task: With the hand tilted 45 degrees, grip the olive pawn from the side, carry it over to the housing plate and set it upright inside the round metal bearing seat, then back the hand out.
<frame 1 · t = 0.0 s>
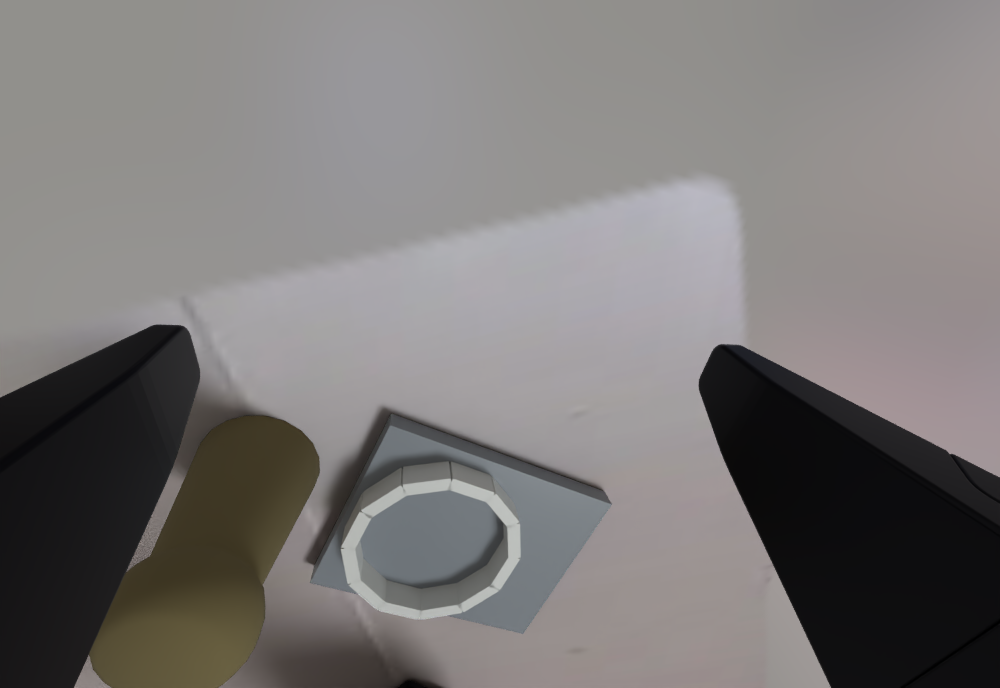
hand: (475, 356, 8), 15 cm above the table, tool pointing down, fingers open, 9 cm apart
housing: (463, 527, 29), on the table
olive pawn: (260, 463, 26), on the table
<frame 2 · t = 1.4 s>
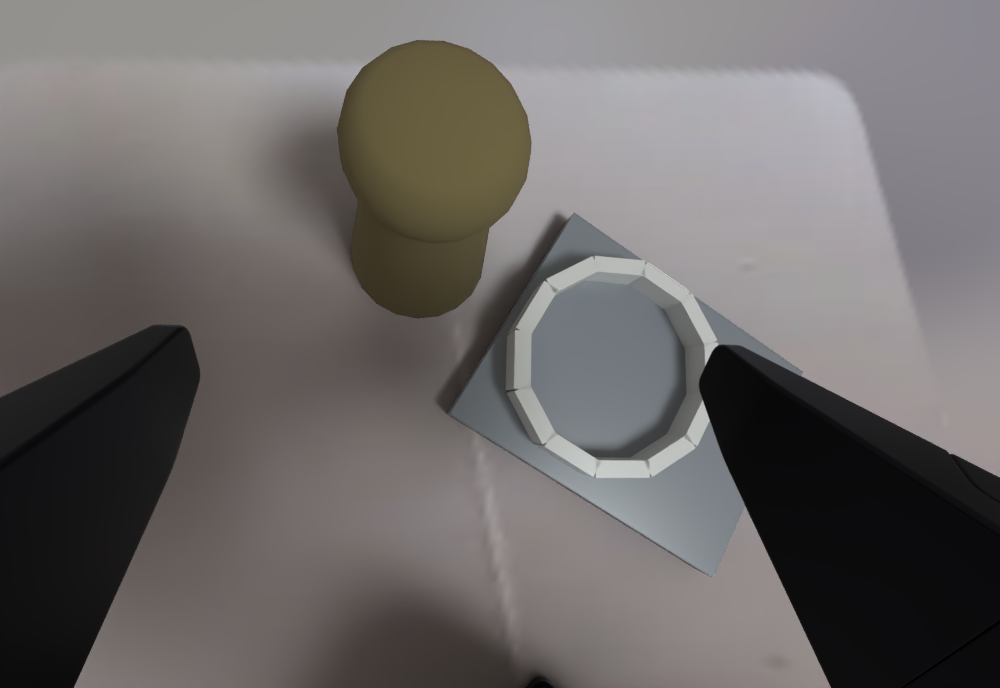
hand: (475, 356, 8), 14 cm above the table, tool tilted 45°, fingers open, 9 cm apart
housing: (629, 392, 24), on the table
olive pawn: (419, 254, 23), on the table
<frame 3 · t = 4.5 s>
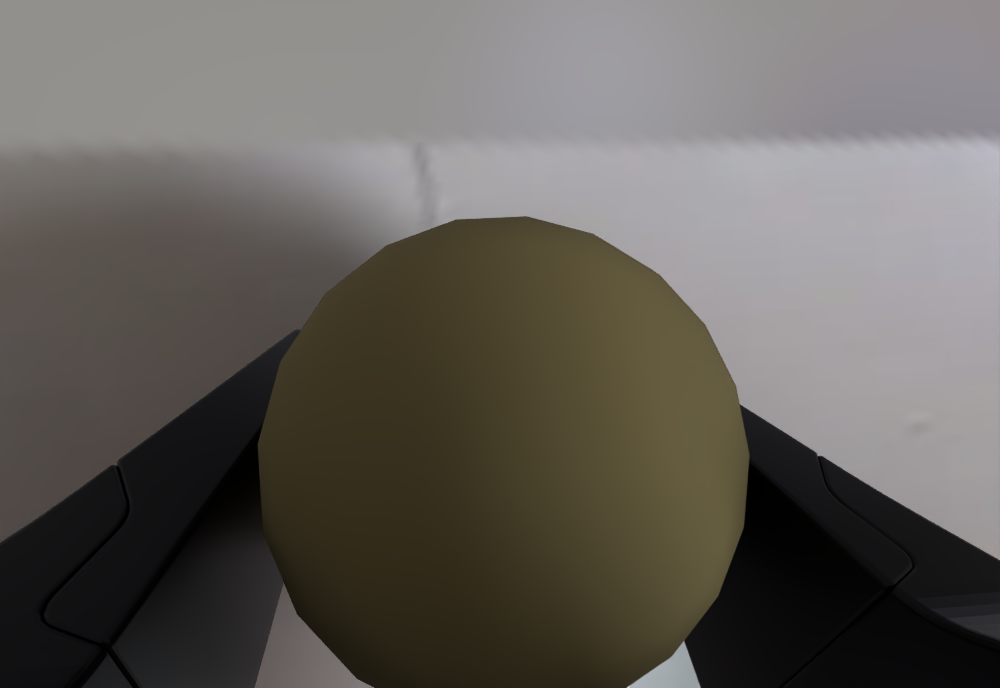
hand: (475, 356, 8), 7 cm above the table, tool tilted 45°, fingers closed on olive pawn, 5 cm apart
housing: (760, 639, 15), on the table
olive pawn: (443, 433, 15), on the table, touching gripper
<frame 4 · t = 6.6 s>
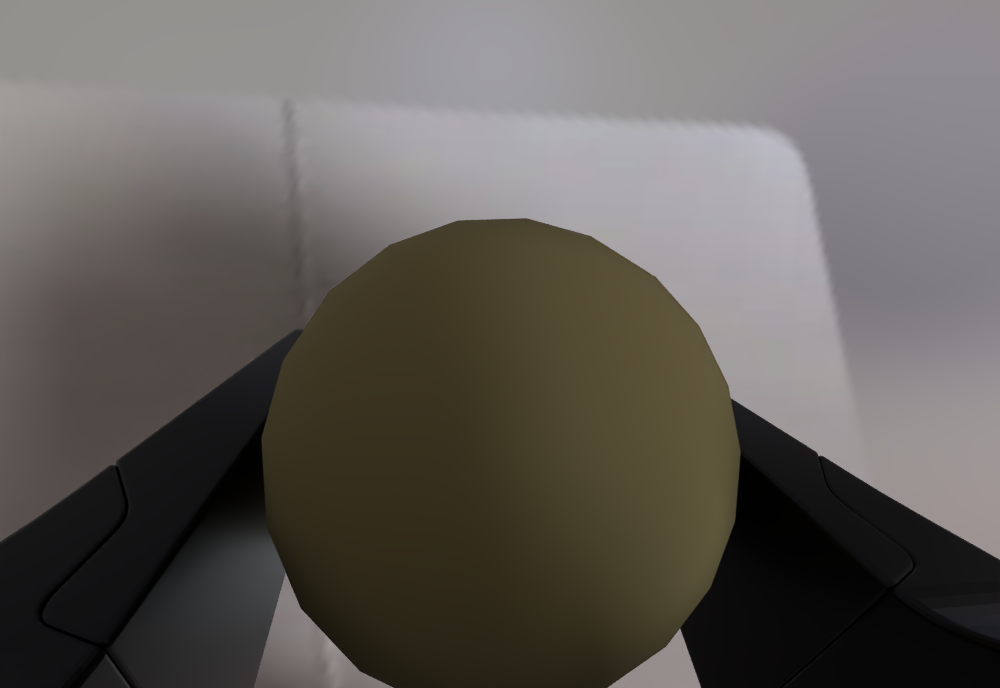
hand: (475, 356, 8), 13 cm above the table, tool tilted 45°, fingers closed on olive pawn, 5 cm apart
olive pawn: (434, 432, 15), point 6 cm above the table, touching gripper
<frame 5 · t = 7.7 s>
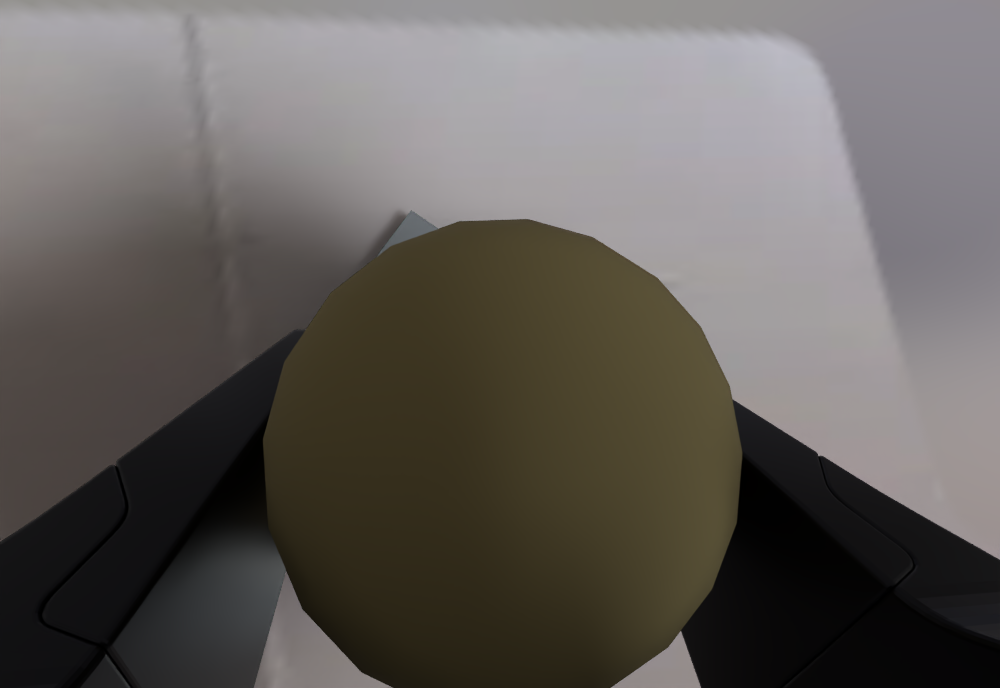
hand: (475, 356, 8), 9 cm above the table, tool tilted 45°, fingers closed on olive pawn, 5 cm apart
housing: (488, 455, 17), on the table
olive pawn: (434, 432, 15), point 2 cm above the table, touching gripper
when the fingers open (9 cm above the table, at t = 8.5 s): olive pawn drops 1 cm, resting on housing.
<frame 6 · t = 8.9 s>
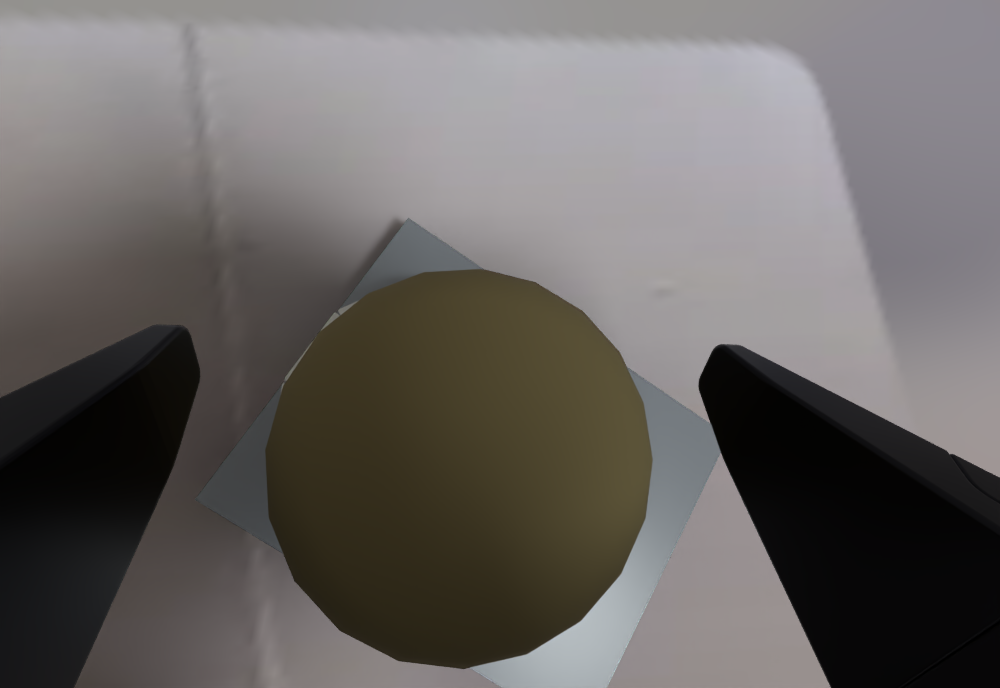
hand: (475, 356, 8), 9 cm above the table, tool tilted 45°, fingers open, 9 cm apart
housing: (485, 461, 17), on the table
olive pawn: (430, 436, 16), point 1 cm above the table, touching housing
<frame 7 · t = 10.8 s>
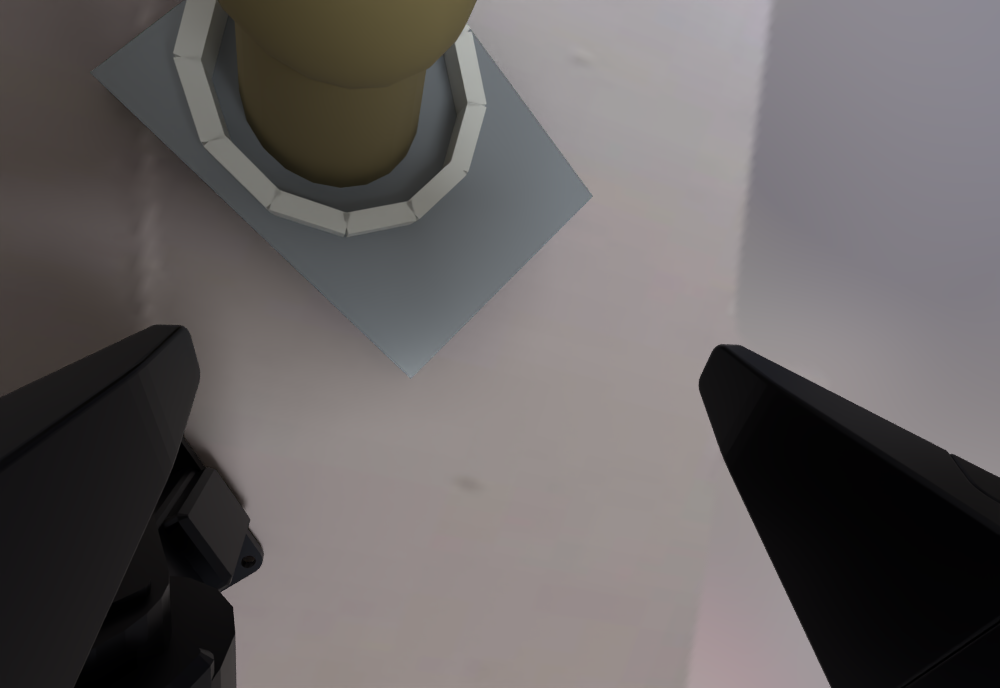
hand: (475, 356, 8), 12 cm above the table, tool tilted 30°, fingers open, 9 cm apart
housing: (381, 152, 19), on the table
olive pawn: (334, 101, 17), point 1 cm above the table, touching housing
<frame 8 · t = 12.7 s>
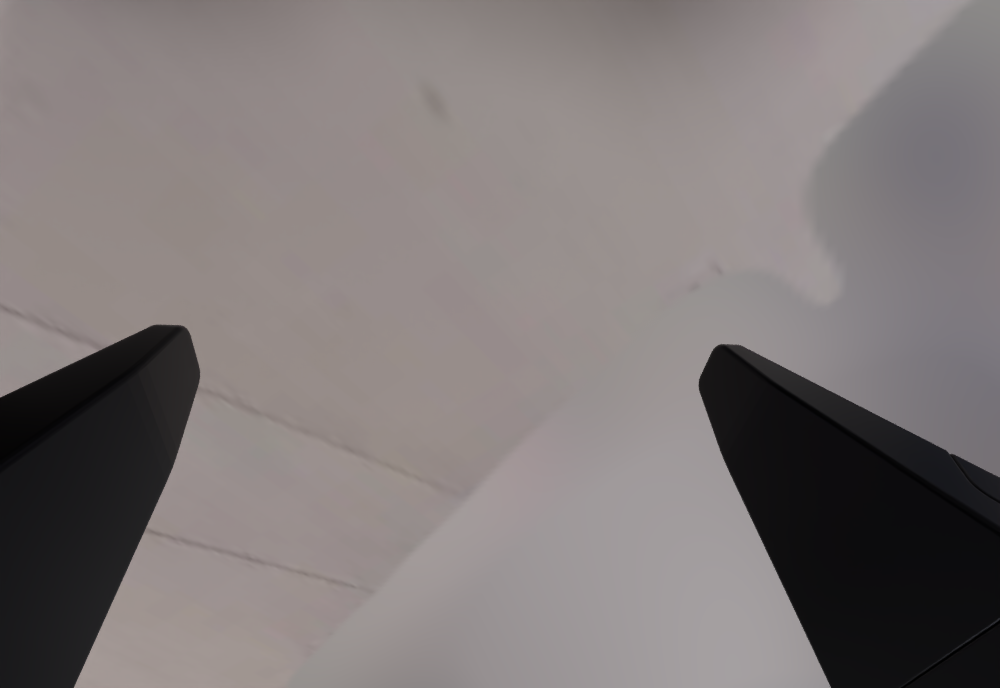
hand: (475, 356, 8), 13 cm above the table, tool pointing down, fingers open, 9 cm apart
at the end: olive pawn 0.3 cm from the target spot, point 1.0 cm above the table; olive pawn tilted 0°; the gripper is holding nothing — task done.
